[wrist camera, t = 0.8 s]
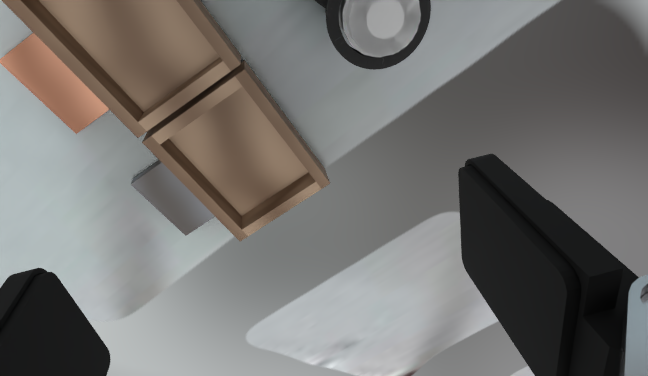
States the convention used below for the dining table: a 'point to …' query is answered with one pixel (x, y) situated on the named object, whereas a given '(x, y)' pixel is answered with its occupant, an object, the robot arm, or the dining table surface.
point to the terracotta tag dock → (118, 57)
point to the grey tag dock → (229, 159)
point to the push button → (376, 29)
